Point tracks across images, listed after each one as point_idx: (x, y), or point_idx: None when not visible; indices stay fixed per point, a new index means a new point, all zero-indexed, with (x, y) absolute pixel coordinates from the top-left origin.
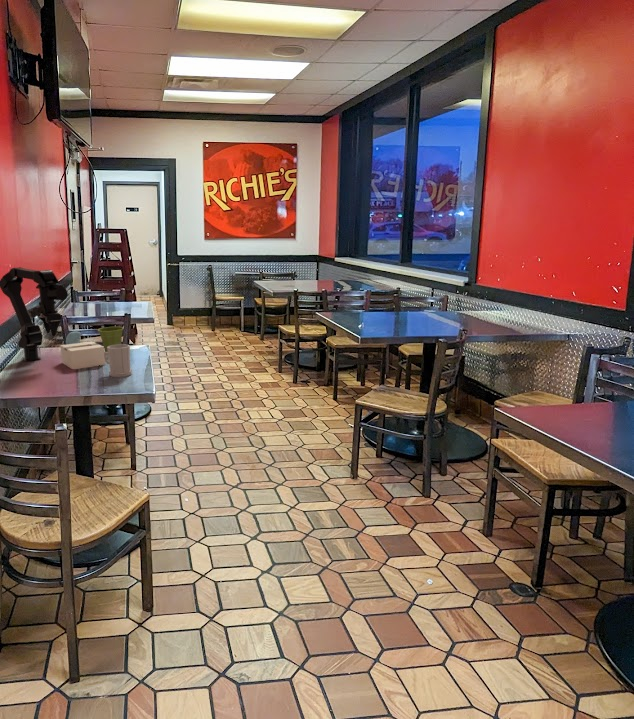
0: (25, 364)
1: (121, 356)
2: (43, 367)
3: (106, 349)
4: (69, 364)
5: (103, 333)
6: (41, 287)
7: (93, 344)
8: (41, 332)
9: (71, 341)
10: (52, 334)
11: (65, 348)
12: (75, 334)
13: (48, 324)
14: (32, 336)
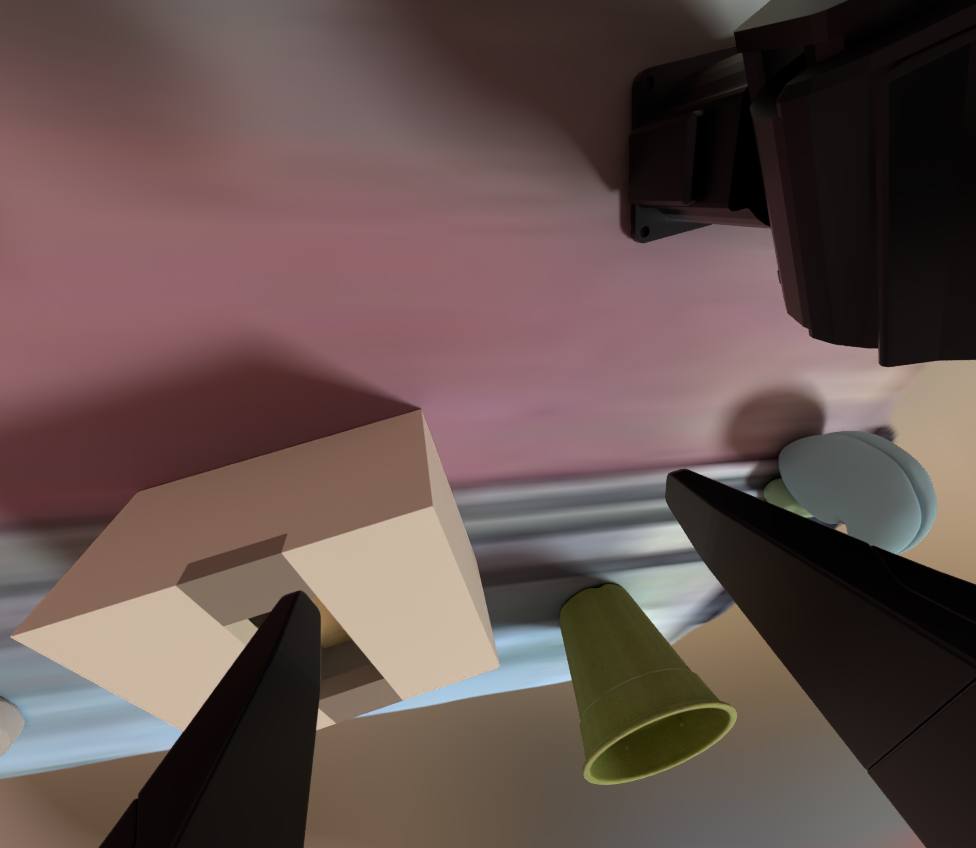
0: (498, 57)
1: None
2: (273, 263)
3: (583, 609)
4: (207, 484)
5: (615, 716)
6: None
7: (361, 697)
8: (887, 358)
9: (824, 479)
10: (261, 624)
11: (233, 564)
12: (868, 533)
13: (812, 647)
14: (845, 167)
